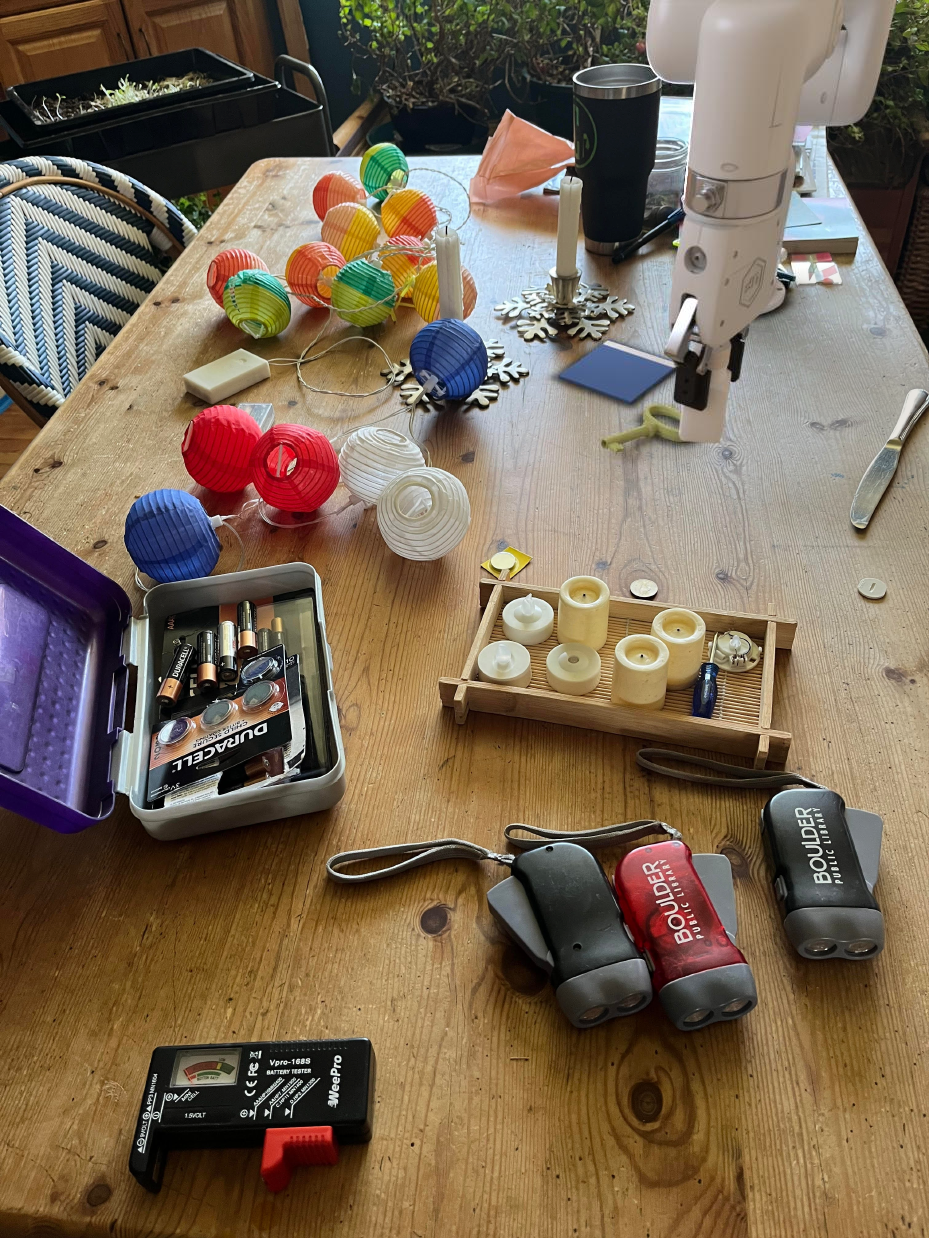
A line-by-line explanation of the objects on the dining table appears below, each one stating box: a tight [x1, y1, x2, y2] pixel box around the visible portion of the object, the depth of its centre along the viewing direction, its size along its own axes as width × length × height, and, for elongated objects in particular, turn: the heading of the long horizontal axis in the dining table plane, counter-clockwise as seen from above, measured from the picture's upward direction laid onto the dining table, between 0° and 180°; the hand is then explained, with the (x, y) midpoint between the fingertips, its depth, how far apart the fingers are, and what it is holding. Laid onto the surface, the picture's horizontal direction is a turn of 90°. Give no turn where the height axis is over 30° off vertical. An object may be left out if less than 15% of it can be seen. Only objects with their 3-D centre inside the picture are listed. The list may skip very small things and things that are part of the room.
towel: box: [557, 339, 677, 405], centre depth 110 cm, size 11×11×1 cm
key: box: [600, 403, 686, 455], centre depth 99 cm, size 7×12×2 cm, turn 139°
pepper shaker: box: [678, 340, 731, 444], centre depth 81 cm, size 4×4×10 cm
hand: (706, 389), depth 81 cm, fingers closed on pepper shaker, 4 cm apart
